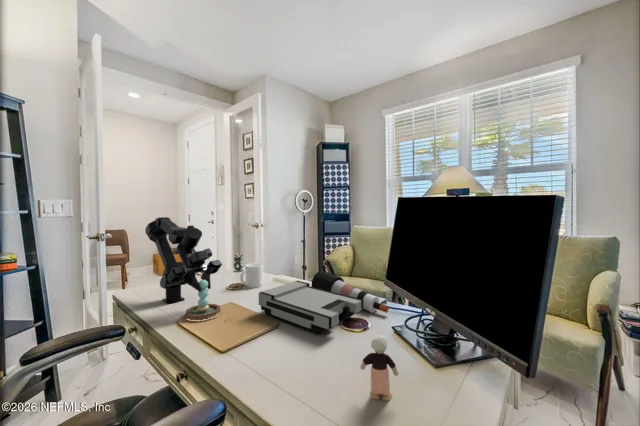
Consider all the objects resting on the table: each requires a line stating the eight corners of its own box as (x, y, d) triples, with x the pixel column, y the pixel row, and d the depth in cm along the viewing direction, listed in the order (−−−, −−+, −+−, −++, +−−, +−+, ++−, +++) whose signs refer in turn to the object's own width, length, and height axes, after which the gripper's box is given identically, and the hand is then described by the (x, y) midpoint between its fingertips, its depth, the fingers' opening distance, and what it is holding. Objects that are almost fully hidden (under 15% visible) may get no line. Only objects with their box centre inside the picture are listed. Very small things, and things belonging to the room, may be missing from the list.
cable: (382, 329, 98) (377, 309, 94) (314, 297, 121) (308, 280, 117) (395, 310, 104) (392, 290, 100) (329, 283, 127) (324, 266, 123)
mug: (245, 291, 127) (245, 269, 127) (235, 287, 133) (235, 266, 132) (266, 285, 136) (266, 264, 136) (256, 282, 141) (256, 262, 141)
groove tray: (179, 315, 99) (179, 310, 99) (210, 306, 108) (210, 301, 108) (194, 325, 91) (194, 319, 91) (227, 314, 100) (227, 308, 100)
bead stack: (197, 308, 100) (197, 279, 100) (208, 306, 102) (208, 278, 102) (197, 311, 97) (197, 281, 97) (209, 310, 99) (209, 280, 98)
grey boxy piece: (328, 341, 81) (328, 314, 81) (258, 314, 101) (258, 292, 100) (363, 319, 97) (363, 296, 97) (297, 299, 117) (297, 280, 117)
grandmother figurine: (394, 389, 60) (395, 332, 59) (399, 402, 56) (399, 341, 55) (359, 388, 60) (359, 331, 60) (361, 401, 56) (361, 340, 56)
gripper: (170, 245, 93) (188, 282, 87) (219, 239, 109) (236, 271, 102) (160, 264, 98) (176, 301, 92) (207, 256, 113) (224, 288, 107)
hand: (205, 289), depth 98 cm, fingers closed on bead stack, 3 cm apart
